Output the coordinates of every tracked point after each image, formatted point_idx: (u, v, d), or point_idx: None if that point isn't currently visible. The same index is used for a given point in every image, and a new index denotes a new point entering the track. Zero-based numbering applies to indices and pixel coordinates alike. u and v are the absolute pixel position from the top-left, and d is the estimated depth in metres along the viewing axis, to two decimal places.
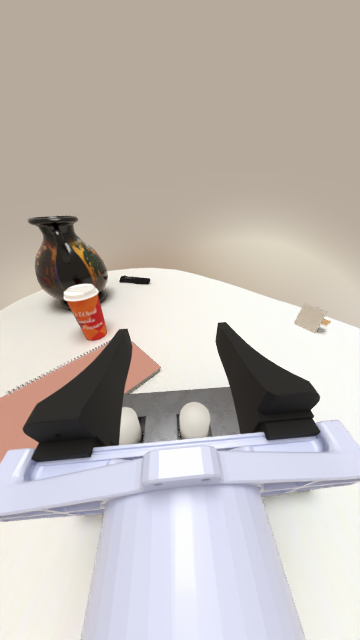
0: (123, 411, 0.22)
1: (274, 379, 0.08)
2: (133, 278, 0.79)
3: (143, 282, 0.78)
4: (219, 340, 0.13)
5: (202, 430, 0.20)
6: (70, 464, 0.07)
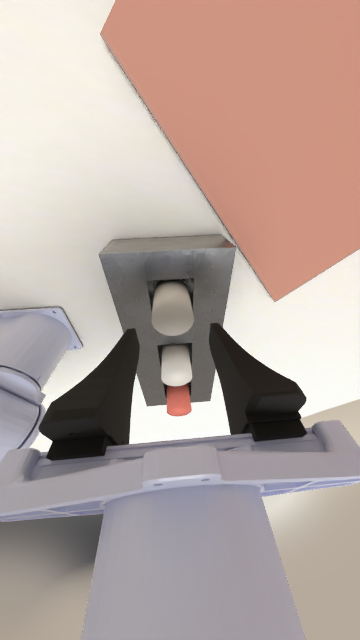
0: (187, 319, 0.15)
1: (261, 380, 0.08)
2: None
3: None
4: (211, 341, 0.13)
5: (164, 381, 0.21)
6: (70, 464, 0.07)
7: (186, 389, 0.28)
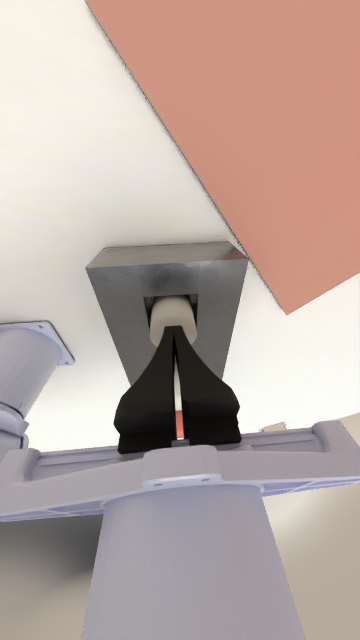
0: (189, 334, 0.14)
1: (198, 385, 0.08)
2: None
3: None
4: (174, 343, 0.13)
5: None
6: (70, 464, 0.07)
7: None
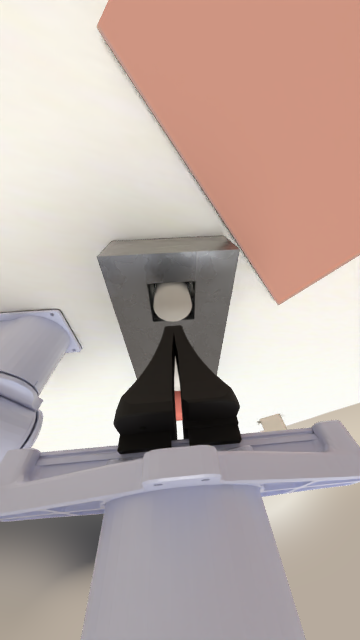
0: (186, 305, 0.17)
1: (198, 385, 0.08)
2: None
3: None
4: (174, 343, 0.13)
5: None
6: (70, 464, 0.07)
7: None
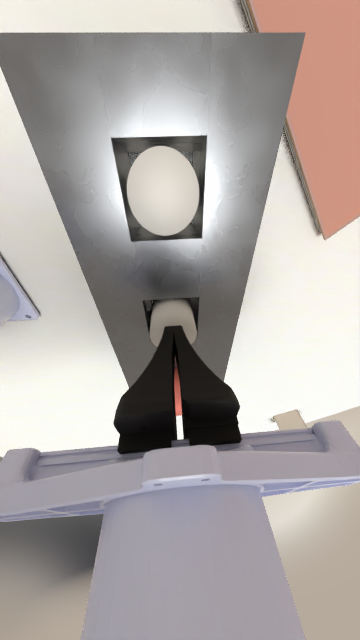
0: (188, 195, 0.09)
1: (198, 385, 0.08)
2: None
3: None
4: (174, 343, 0.13)
5: (154, 342, 0.14)
6: (71, 464, 0.07)
7: None
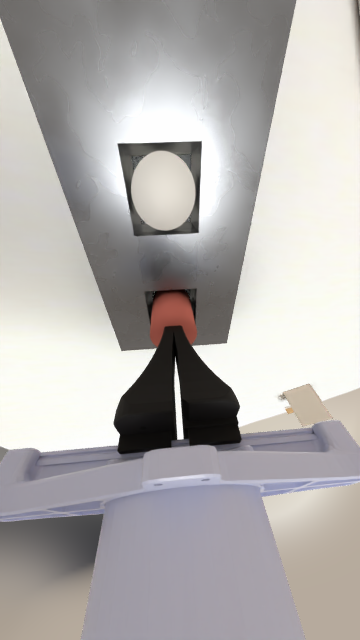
0: None
1: (198, 385, 0.08)
2: None
3: None
4: (174, 343, 0.13)
5: (139, 209, 0.11)
6: (70, 464, 0.07)
7: (187, 302, 0.15)
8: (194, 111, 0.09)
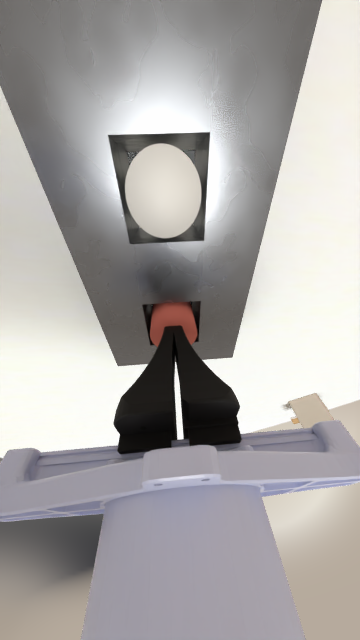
0: None
1: (198, 385, 0.08)
2: None
3: None
4: (174, 343, 0.13)
5: (135, 214, 0.09)
6: (70, 464, 0.07)
7: (187, 302, 0.15)
8: (201, 95, 0.07)
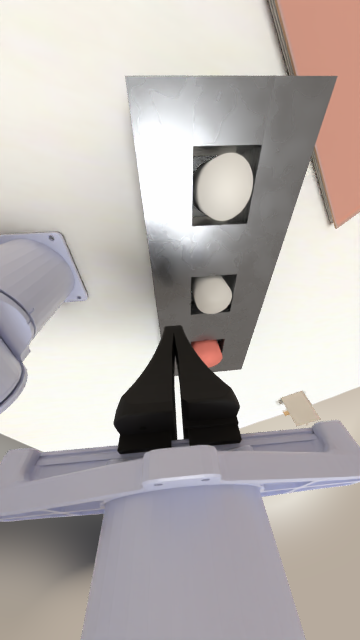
0: (244, 189, 0.12)
1: (198, 385, 0.08)
2: None
3: None
4: (174, 343, 0.13)
5: (198, 305, 0.18)
6: (70, 464, 0.07)
7: None
8: (234, 263, 0.16)
